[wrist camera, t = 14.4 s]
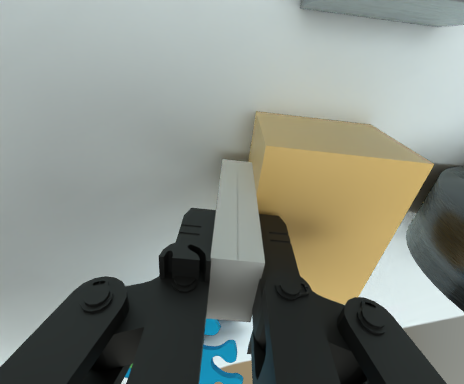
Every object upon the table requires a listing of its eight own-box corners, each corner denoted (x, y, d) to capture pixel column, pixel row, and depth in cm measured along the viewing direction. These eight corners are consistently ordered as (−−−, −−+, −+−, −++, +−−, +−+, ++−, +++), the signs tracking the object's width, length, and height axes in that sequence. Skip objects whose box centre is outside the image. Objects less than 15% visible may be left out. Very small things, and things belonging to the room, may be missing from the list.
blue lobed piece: (247, 317, 19) (234, 481, 17) (250, 303, 25) (241, 423, 22) (112, 298, 20) (82, 446, 18) (144, 289, 26) (125, 400, 24)
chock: (237, 231, 17) (237, 295, 13) (255, 110, 13) (265, 145, 9) (324, 239, 17) (353, 305, 13) (369, 124, 13) (434, 164, 9)
